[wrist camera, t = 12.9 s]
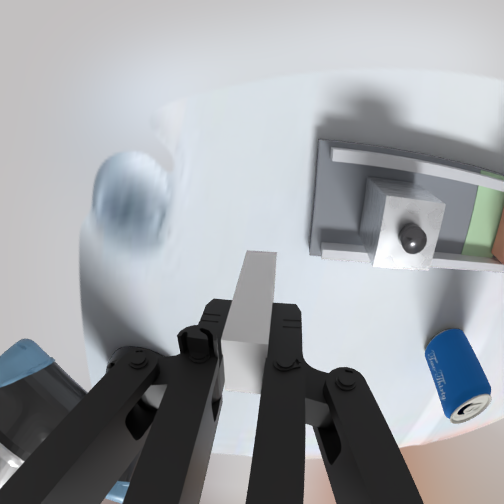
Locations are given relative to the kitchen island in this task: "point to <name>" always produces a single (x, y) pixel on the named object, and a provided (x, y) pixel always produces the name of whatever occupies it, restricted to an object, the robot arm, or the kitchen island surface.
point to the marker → (499, 241)
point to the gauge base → (414, 171)
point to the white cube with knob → (400, 224)
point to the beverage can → (457, 376)
